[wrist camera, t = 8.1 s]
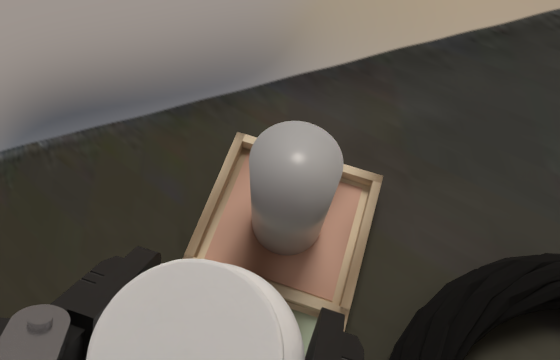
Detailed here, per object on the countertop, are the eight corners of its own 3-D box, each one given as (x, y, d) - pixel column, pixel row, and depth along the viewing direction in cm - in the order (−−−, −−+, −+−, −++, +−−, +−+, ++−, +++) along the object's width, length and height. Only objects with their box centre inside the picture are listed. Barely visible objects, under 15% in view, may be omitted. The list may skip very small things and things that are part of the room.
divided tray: (375, 188, 33) (383, 176, 31) (298, 493, 25) (301, 502, 23) (238, 146, 34) (237, 131, 32) (120, 425, 26) (108, 428, 24)
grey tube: (329, 201, 31) (353, 136, 23) (310, 264, 29) (329, 217, 21) (265, 181, 32) (266, 110, 24) (242, 242, 30) (235, 187, 22)
